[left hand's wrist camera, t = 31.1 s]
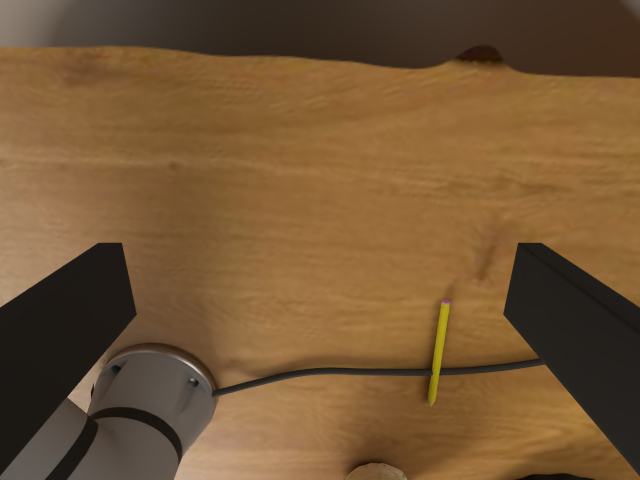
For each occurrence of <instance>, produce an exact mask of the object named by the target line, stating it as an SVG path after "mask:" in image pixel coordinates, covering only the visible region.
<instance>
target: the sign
mask: <svg viewBox="0 0 640 480" xmlns="http://www.w3.org/2000/svg"><path fill="white" fill-rule="evenodd" d="M521 480H593V479H585V478H579V477H576V476H573V475H569V474H559V475H552V476H548V475H534V476H530V477H527V478H524V479H521Z"/></svg>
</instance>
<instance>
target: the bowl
mask: <svg viewBox="0 0 640 480" xmlns="http://www.w3.org/2000/svg"><path fill="white" fill-rule="evenodd" d="M344 480H407V478H406V476H405V475H404V473H403V472H402V471H401V470H399V469H397V468H395V467H393V466H390V465H387V464H385V463H380V464H379V463H369V464H367V465H362V466H359V467H357V468H356V469H354V470H353V471H352V472H351V473H349V474H348V475H347V476H346V477H345V478H344Z"/></svg>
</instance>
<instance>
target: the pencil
mask: <svg viewBox="0 0 640 480" xmlns="http://www.w3.org/2000/svg"><path fill="white" fill-rule="evenodd" d="M449 308H450V300H448V299H442V302H441V309H440V316H439V323H438V330H437V337H436V344H435V351H434V358H433V365H432V372H433V375H431V379H430V386H429V393H428V401H429V405H430V407H431V406H432V404H433V403H434V402H435V399H436V392H437V386H438V379H439V373H440V366H441V360H442V353H443V347H444V340H445V334H446V327H447V321H448V314H449Z"/></svg>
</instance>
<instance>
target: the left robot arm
mask: <svg viewBox="0 0 640 480" xmlns="http://www.w3.org/2000/svg"><path fill="white" fill-rule="evenodd" d="M136 315H137V313H136V309H135V304H134V299H133V294H132V290H131V285H130V280H129V275H128V270H127V266H126V261H125V256H124V251H123V246H122V243H98V244H96V245H95V246H93V247H92V248H90V249H88V250H87V251H85V252H84V253H82V254H81V255H79V256H78V257H76V258H75V259H73V260H72V261H70V262H69V263H67V264H66V265H64V266H63V267H61V268H60V269H58V270H57V271H55V272H54V273H52V274H50V275H49V276H47V277H46V278H44V279H43V280H41V281H40V282H38V283H37V284H35V285H34V286H32V287H31V288H29V289H28V290H26V291H25V292H23V293H22V294H20V295H19V296H17V297H15V298H14V299H12V300H11V301H9V302H8V303H6V304H5V305H3V306H2V307H0V480H174V477H175V475H176V472H177V469H178V466H179V464H180V461H181V459H182V457H183V455H184V454H185V453H186V452H187V450H188V449H189V448H190V447H191V445H192V444H193V443H194V442H195V440H196V439H197V438H198V437H199V435H200V434H201V433H202V432H203V431H204V429H205V428H206V427H207V426H208V424H209V423H210V421H211V419H212V417H213V414H214V411H215V408H216V405H217V401H218V396H220V395H224V394H228V393H232V392H236V391H240V390H243V389H247V388H251V387H255V386H259V385H263V384H267V383H271V382H275V381H280V380H284V379H289V378H294V377H300V376H307V375H318V374H348V375H398V376H428V375H433V372H432V369H356V368H314V369H304V370H297V371H292V372H286V373H282V374H278V375H274V376H270V377H266V378H262V379H257V380H253V381H249V382H245V383H241V384H238V385H234V386H230V387H226V388H222V389H217V385H216V382H215V380H214V378H213V376H212V374H211V373H210V371H209V370H208V368H207V367H206V366H205V365H204V364H203V363H202V362H201V361H199V360H198V359H197V358H196V357H194V356H193V355H191V354H189V353H188V352H186V351H183V350H181V349H179V348H176V347H173V346H169V345H164V344H153V343H152V344H140V345H135V346H132V347H129V348H126V349H124V350H122V351H121V352H119V353H118V354H116V355H115V356H114V357H113V358H112V359H111V360H110V361H109V363H108V364H107V365H106V366H105V368H104V369H103V370H102V372H101V373H100V375H99V377H98V380H97V382H96V386H95V389H94V384H93V387H92V390H91V402H90V405H89V409H88V412H87V413H85V412H84V411H83V410H82V409H81V408H79V407H78V406H77V405H76V404H75V403H73V402H72V401H71V400H70V399H68V398H67V396H68V395H69V394H70V393H71V392H72V390H73V389H74V388H75V387H76V386H77V385H78V383H79V382H80V381H81V380H82V379H83V377H84V376H85V375H86V374H87V373H88V372H89V370H90V369H91V368H92V367H93V366H94V364H95V363H96V362H97V361H98V360H99V359H100V357H101V356H102V355H103V354H104V353H105V351H106V350H107V349H108V348H109V347H110V345H111V344H112V343H113V342H114V341H115V340H116V338H117V337H118V336H119V335H120V334H121V332H122V331H123V330H124V329H125V328H126V327H127V325H128V324H129V323H130V322H131V321H132V319H133V318H134V317H135V316H136ZM503 315H504V316H505V317H506V318H507V319H508V321H509V322H510V323H511V324H512V325H513V327H514V328H515V329H516V330H517V331H518V332H519V334H520V335H521V336H522V337H523V338H524V340H525V341H526V342H527V343H528V344H529V345H530V347H531V348H532V349H533V350H534V351H535V353H536V354H537V355H538V356H539V357H540V359H534V360H528V361H522V362H515V363H508V364H500V365H491V366H480V367H468V368H449V369H440V373H439V375H458V374H474V373H486V372H496V371H505V370H513V369H520V368H526V367H533V366H539V365H545V364H546V366H547V367H548V368H549V369H550V370H551V372H552V373H553V374H554V375H555V376H556V377H557V379H558V380H559V381H560V382H561V383H562V385H563V386H564V387H565V388H566V389H567V390H568V392H569V393H570V394H571V395H572V396H573V398H574V399H575V400H576V401H577V402H578V404H579V405H580V406H581V407H582V408H583V409H584V411H585V412H586V413H587V414H588V415H589V417H590V418H591V419H592V420H593V421H594V422H595V424H596V425H597V426H598V427H599V428H600V430H601V431H602V432H603V433H604V434H605V436H606V437H607V438H608V439H609V440H610V441H611V443H612V444H613V445H614V446H615V447H616V449H617V450H618V451H619V452H620V453H621V454H622V456H623V457H624V458H625V459H626V460H627V462H628V463H629V464H630V465H631V466H632V467H633V469H634V470H635V471H636V472H637V473H638V475H639V476H640V307H638V306H637V305H635V304H634V303H632V302H631V301H629V300H628V299H626V298H625V297H623V296H621V295H620V294H618V293H617V292H615V291H614V290H612V289H611V288H609V287H608V286H606V285H605V284H603V283H602V282H600V281H599V280H597V279H596V278H594V277H593V276H591V275H590V274H588V273H586V272H585V271H583V270H582V269H580V268H579V267H577V266H576V265H574V264H573V263H571V262H570V261H568V260H567V259H565V258H564V257H562V256H561V255H559V254H558V253H556V252H555V251H553V250H552V249H550V248H548V247H547V246H545V245H544V244H542V243H518V246H517V251H516V256H515V261H514V266H513V270H512V275H511V280H510V285H509V290H508V294H507V299H506V304H505V309H504V313H503Z"/></svg>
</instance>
